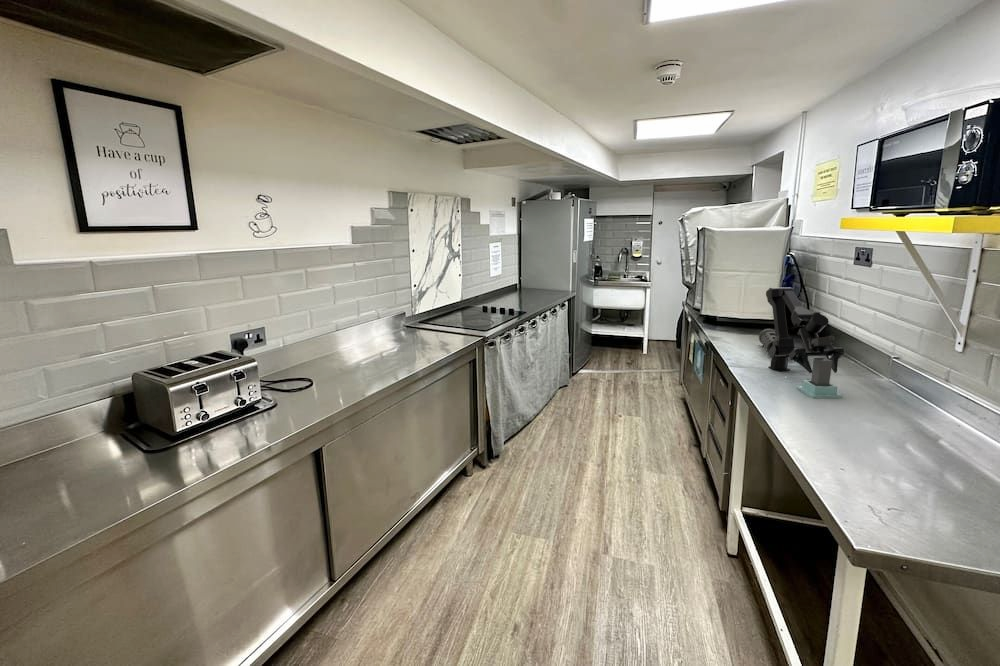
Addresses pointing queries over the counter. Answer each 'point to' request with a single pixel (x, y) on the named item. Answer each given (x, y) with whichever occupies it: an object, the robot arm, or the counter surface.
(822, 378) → the plug
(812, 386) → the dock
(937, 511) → the counter surface
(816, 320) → the robot arm
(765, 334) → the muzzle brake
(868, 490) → the counter surface
